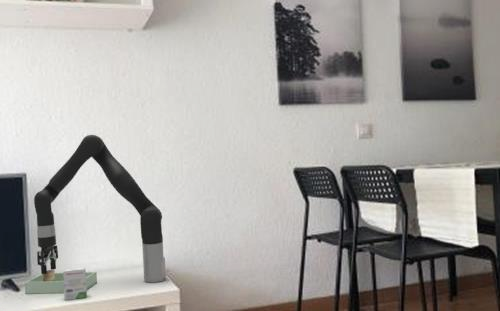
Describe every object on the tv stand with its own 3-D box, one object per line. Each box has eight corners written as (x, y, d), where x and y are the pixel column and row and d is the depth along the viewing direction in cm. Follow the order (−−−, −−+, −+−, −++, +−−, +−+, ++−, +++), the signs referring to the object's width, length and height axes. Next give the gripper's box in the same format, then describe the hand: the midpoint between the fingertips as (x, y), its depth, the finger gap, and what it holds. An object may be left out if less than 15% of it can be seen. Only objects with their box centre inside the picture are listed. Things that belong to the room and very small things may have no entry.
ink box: (87, 294, 213) (85, 266, 213) (86, 297, 208) (85, 269, 208) (65, 297, 211) (64, 268, 210) (64, 300, 206) (63, 271, 206)
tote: (97, 282, 232) (96, 272, 232) (82, 292, 216) (82, 280, 216) (43, 284, 234) (42, 273, 234) (25, 293, 219) (24, 282, 219)
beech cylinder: (57, 285, 228) (56, 270, 228) (51, 288, 223) (51, 272, 223) (46, 285, 228) (45, 270, 228) (40, 288, 223) (40, 273, 223)
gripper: (46, 237, 218) (49, 275, 218) (61, 232, 232) (64, 267, 233) (30, 238, 219) (32, 276, 219) (46, 233, 233) (48, 268, 233)
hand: (48, 271), depth 226 cm, fingers open, 8 cm apart
